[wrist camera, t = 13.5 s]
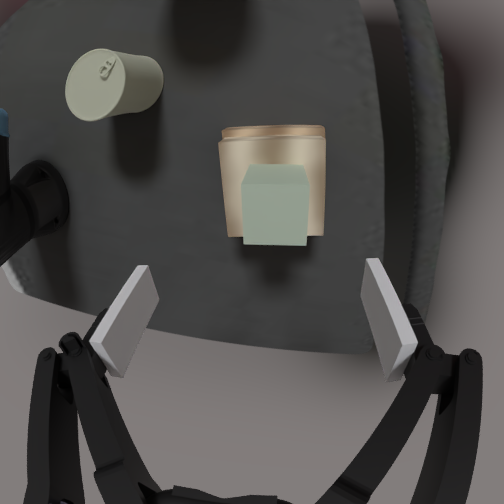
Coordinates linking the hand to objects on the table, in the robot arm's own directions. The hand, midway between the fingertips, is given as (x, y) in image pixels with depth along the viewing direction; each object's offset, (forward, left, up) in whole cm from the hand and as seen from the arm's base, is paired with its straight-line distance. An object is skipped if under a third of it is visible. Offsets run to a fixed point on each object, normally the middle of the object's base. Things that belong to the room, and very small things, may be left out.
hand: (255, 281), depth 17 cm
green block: (+1, 0, -19) cm, 19 cm away
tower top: (+1, -1, -23) cm, 23 cm away
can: (-19, +16, -27) cm, 36 cm away
